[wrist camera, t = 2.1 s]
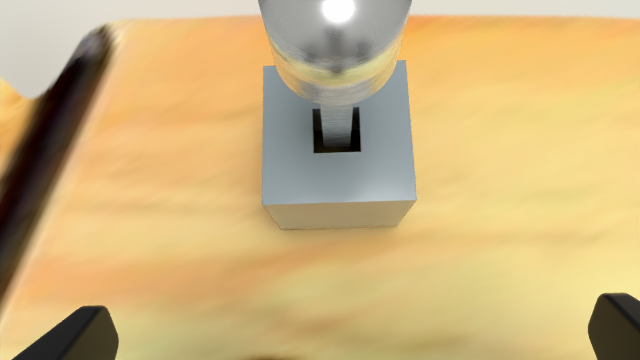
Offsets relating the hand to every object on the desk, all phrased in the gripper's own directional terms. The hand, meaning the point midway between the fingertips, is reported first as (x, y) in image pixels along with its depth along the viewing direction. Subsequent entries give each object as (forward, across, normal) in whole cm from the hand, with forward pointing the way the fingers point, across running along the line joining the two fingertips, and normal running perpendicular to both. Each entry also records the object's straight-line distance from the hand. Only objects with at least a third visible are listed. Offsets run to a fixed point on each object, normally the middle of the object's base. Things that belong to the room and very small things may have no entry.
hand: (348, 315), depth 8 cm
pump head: (+11, 0, 0) cm, 11 cm away
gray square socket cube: (+14, 0, +5) cm, 15 cm away
